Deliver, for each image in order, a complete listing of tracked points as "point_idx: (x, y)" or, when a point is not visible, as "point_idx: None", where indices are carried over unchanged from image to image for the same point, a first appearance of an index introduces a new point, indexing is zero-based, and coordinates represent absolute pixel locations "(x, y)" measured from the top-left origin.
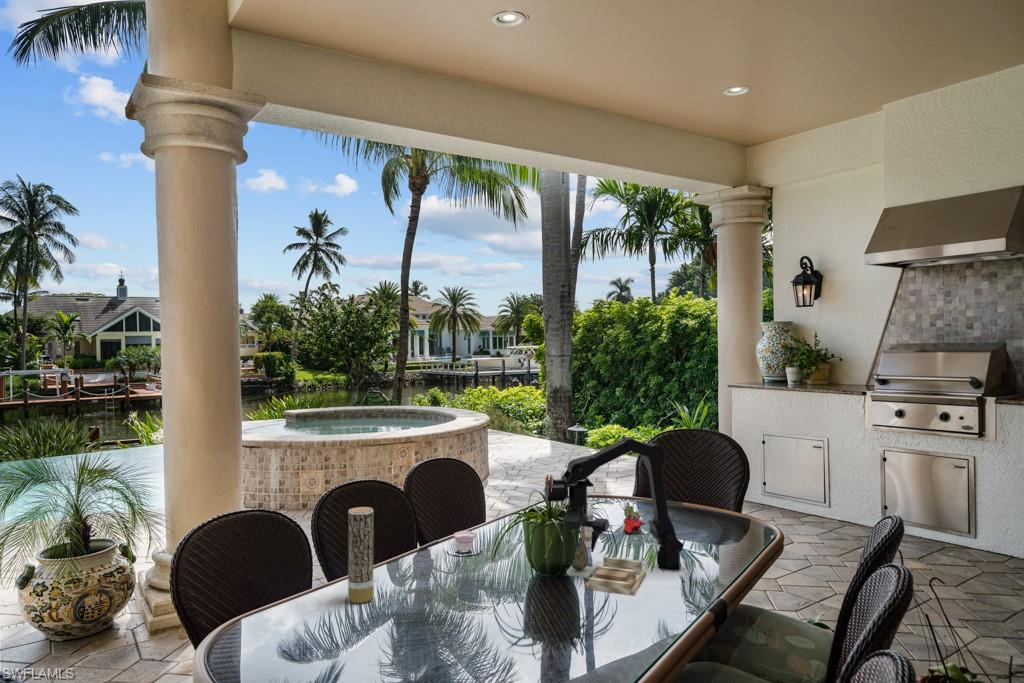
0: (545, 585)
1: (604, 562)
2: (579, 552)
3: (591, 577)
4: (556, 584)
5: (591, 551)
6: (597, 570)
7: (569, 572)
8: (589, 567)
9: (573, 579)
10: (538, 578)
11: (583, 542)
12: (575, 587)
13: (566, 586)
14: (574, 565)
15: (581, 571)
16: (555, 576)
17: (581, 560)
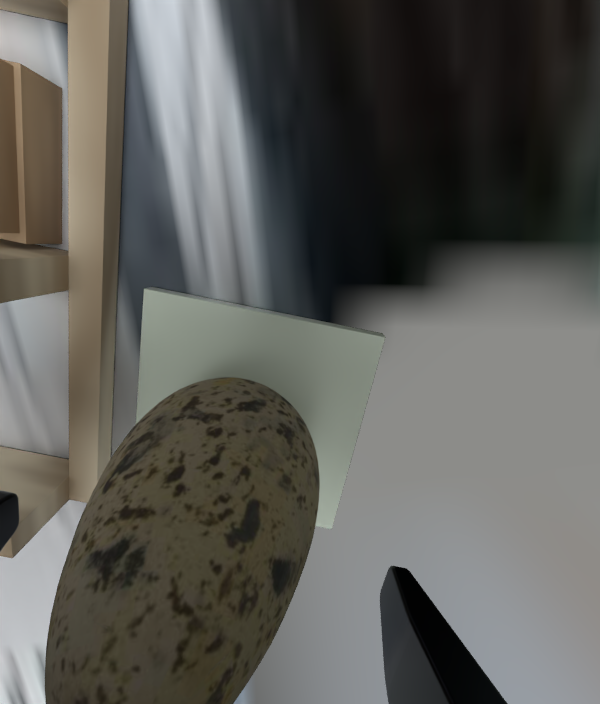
0: (516, 3)
1: (31, 501)
2: (161, 453)
3: (100, 226)
4: (407, 63)
5: (3, 496)
6: (7, 253)
7: (310, 354)
8: None
9: (266, 238)
10: (575, 204)
11: (47, 650)
12: (221, 10)
13: (308, 21)
14: (262, 384)
15: None
16: (421, 285)
17: (173, 396)
